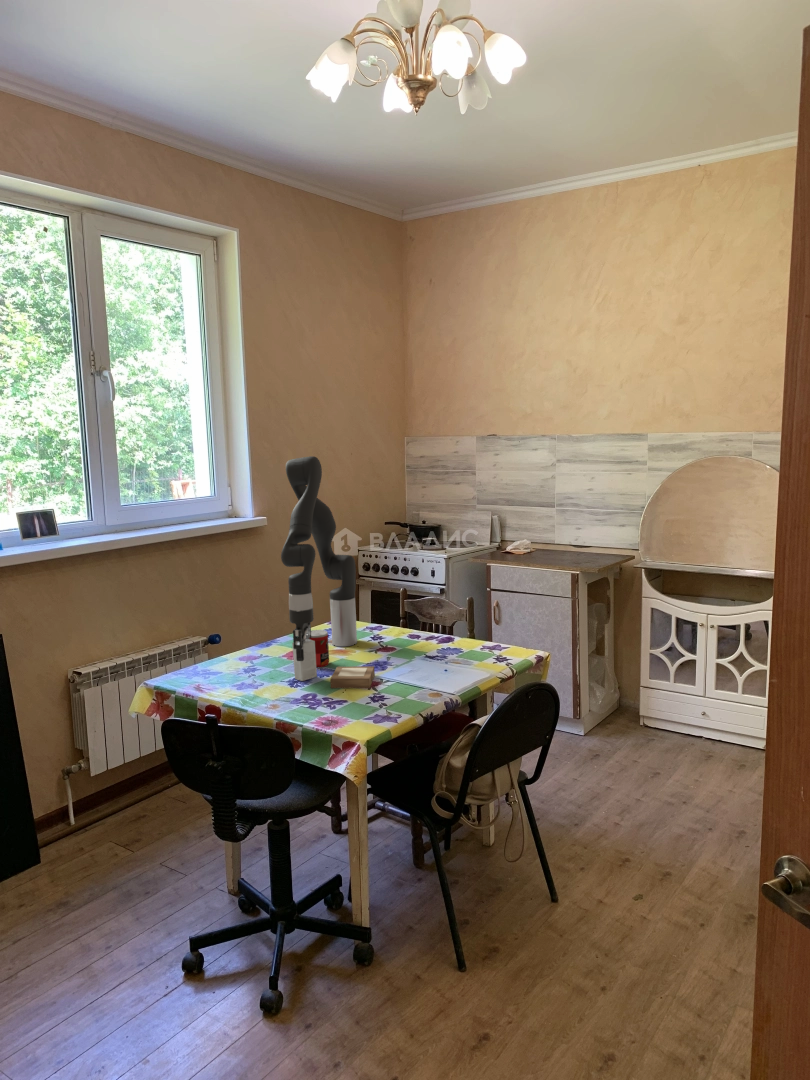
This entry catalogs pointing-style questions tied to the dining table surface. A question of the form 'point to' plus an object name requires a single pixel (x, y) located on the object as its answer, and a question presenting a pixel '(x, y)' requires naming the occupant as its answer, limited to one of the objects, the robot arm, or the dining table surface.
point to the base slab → (352, 677)
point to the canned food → (321, 647)
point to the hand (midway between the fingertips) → (303, 656)
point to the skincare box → (306, 662)
